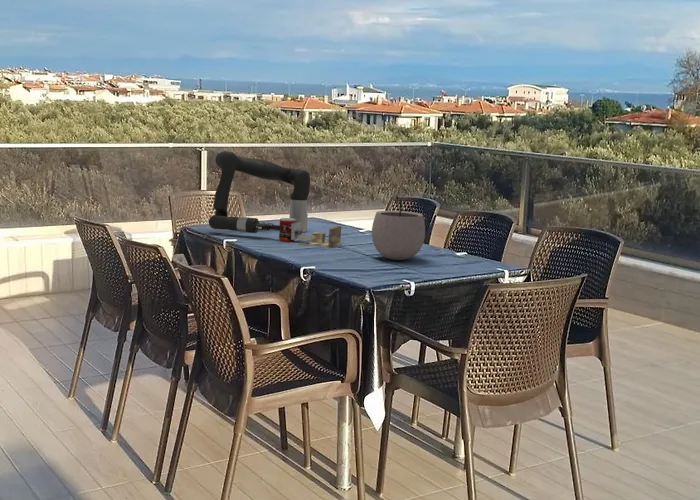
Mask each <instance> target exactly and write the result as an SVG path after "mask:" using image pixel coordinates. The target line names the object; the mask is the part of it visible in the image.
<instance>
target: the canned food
mask: <svg viewBox="0 0 700 500" xmlns="http://www.w3.org/2000/svg"><path fill="white" fill-rule="evenodd" d="M295 222H296V220H295V219H293V218H289V217H281V218H279V225H280V229H279V230H278V231H279V233H278V237H279V238H278V240H279V242H283V243H295V240H291V229H292V223H295Z"/></svg>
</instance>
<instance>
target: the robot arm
mask: <svg viewBox="0 0 700 500" xmlns="http://www.w3.org/2000/svg"><path fill="white" fill-rule="evenodd" d="M214 160H215V164H216V166H217V167H218V168H220V169H221V173H220V179H219V182H218V185H217V187H216V190H215V194H214V199H213V200H214V201H213V206H212V207H213V209H214V210H215V212H214V213H215V214H214V215H211V216H210V217H209V218H208V226H209V227H210V228H212V229H215V230H227V231H228V230H229V231H235V232H241V233H250V234H257V232H258V231H274V230H275V231H279V229H280V224H279V225H277V224H274V223H271V222H268V221H267V222H265V221H260V222H259V219H258V218H257V217H249V216H248V217H247V216H228V204H229V197H230V191H231V187H232V183H233V179H234V175H235V173H236V172H242V173H243V174H246V175H249V176H252V177H256V178H260V179H264V180H268V181H269V180H270V181H280V182H284V183H286V184H290V185H292V186H293V191H292V193H291V194H290V199H289V217H288V218H293V219H295V220H296V222H298V221H299V222H301V230H302V233H306V232H308V215H309V214H308V198H309V194H310V191H311V175H310V173H309V172H308V171H307V170H304V169H300V168H290V167H285V166H281V165H279V164H276V163H274V162H272V161H267V160H265V159H259V158H252V157H251V158H249V157H242V156H238V155H237V154H236V153H235V152H232V151H226V150H225V151H221V152H219V153H218V154H217V155H216V156H215V159H214Z"/></svg>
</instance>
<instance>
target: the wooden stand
mask: <svg viewBox="0 0 700 500" xmlns="http://www.w3.org/2000/svg"><path fill="white" fill-rule="evenodd" d="M328 229H329V231H328V240H326V234H327V233H326V232H321V231H320V232H319V231H318V232H317V231H314V232H313V233H311V235H312V241H309V240H300V241H301V242H303V241H304V242H309V243H301V242H300V243H299V242H298V243H297V242H289V245H299V246H314V247H321V248H322V247H324V248H336V247H338V246H340V245H341V239H342V238H341V237H342V226H341V225H335V226H332V227H330V228H328Z"/></svg>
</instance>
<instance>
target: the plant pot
mask: <svg viewBox="0 0 700 500" xmlns="http://www.w3.org/2000/svg"><path fill="white" fill-rule="evenodd" d="M405 195H406V194H405V193H404V194H403V195H402V198H400V196H398V195H397V194H396V202H397V204H399V210H379V211H376V212H375V216H374V219H373V220H372V221H373V223H372V226H371V238H372V242H373V245H374V248H375V250H376V251H377V252H378V253H379V254H380V255H381V256H382V257H384V258H386V259H389V260H393V261H405V260H409V259H411V258H413V257H415V256H416V255H417V254H418V253H419V252H420V251H421V249H422V247H423V244H424V241H425V239H426V225H425V218H424V215H423V214H422V213H418V212H413V211H405V210H403V211H402V200H403V198H404V196H405ZM399 199H400V201H399Z"/></svg>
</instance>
